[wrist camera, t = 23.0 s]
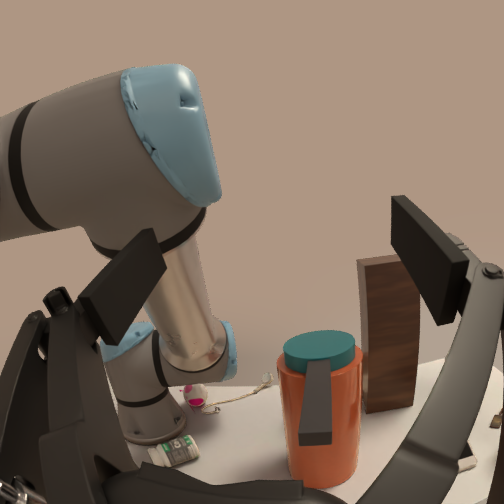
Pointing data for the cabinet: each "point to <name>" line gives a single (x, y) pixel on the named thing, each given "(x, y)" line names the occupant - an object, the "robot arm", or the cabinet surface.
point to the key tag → (497, 420)
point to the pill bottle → (174, 451)
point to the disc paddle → (318, 379)
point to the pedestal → (343, 425)
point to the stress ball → (195, 394)
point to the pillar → (388, 333)
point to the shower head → (266, 380)
